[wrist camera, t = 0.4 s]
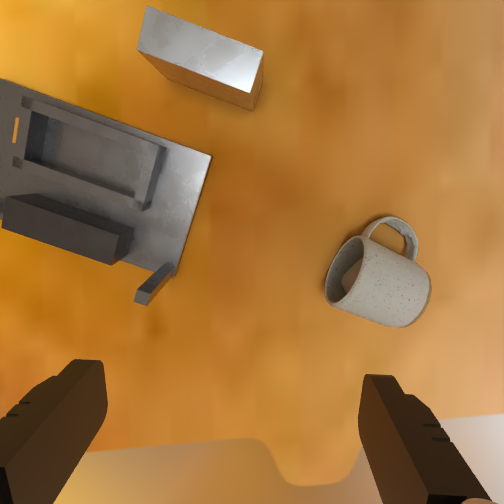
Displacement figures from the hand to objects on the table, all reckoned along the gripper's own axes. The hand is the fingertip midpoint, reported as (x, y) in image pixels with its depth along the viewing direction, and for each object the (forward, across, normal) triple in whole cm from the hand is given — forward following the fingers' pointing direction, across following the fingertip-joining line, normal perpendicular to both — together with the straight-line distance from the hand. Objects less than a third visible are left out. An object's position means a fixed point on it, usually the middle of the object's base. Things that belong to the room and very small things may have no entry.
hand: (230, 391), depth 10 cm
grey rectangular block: (+26, +4, -15) cm, 30 cm away
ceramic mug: (+26, -13, +4) cm, 30 cm away
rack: (+26, +17, -4) cm, 31 cm away
